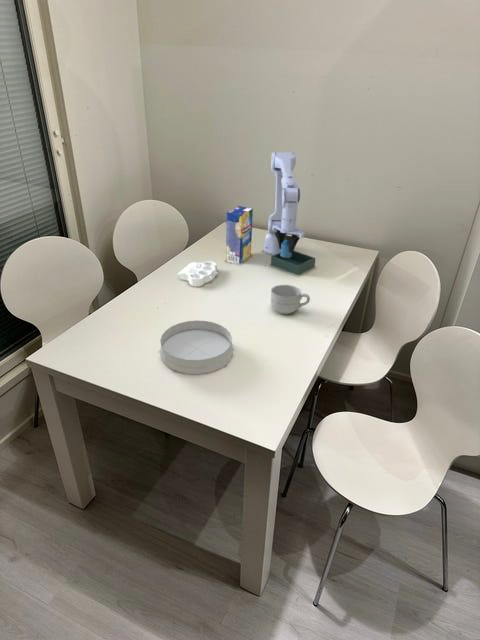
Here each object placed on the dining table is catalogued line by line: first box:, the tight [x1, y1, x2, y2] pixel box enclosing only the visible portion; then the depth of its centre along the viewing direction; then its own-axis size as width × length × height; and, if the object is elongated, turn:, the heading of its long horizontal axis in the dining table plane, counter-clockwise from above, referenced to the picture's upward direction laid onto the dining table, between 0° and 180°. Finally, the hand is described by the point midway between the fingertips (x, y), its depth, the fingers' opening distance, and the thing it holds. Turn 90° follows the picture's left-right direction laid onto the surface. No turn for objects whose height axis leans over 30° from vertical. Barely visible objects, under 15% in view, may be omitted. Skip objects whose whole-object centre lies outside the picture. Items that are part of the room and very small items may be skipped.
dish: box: [159, 320, 233, 375], centre depth 140 cm, size 22×22×5 cm
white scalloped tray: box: [177, 260, 219, 288], centre depth 186 cm, size 3×18×15 cm
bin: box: [270, 250, 317, 276], centre depth 197 cm, size 15×12×5 cm
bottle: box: [281, 235, 292, 258], centre depth 187 cm, size 5×5×8 cm
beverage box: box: [225, 205, 254, 264], centre depth 198 cm, size 7×11×22 cm, turn 153°
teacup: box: [270, 284, 311, 315], centre depth 163 cm, size 14×11×8 cm
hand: (286, 250), depth 188 cm, fingers closed on bottle, 4 cm apart
